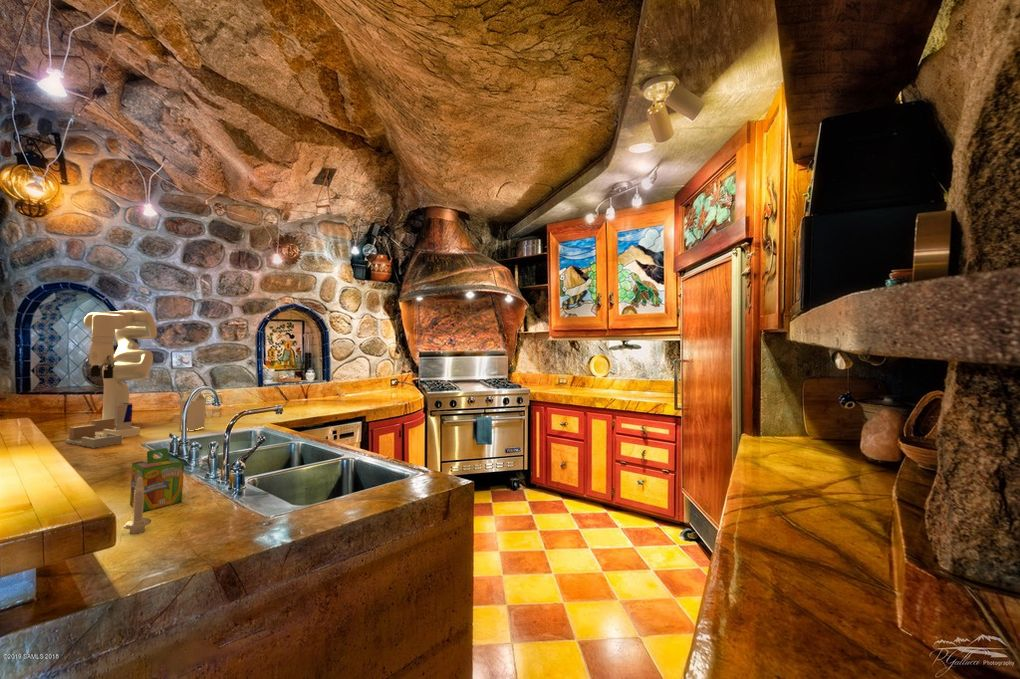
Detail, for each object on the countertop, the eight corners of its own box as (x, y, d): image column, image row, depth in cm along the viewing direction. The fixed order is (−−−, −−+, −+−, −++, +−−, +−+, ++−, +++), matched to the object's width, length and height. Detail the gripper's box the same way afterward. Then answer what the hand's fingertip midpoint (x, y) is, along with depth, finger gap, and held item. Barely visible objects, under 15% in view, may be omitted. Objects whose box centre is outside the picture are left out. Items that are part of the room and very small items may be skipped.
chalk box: (140, 513, 107) (143, 456, 107) (128, 505, 111) (131, 450, 112) (183, 502, 114) (186, 449, 115) (170, 495, 119) (172, 444, 120)
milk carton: (193, 431, 198) (195, 392, 198) (178, 431, 198) (180, 392, 198) (204, 428, 205) (206, 391, 205) (190, 428, 205) (192, 390, 205)
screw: (135, 527, 99) (156, 527, 99) (117, 536, 94) (138, 536, 94) (138, 473, 99) (158, 473, 99) (120, 479, 94) (141, 480, 94)
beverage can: (133, 436, 186) (134, 403, 186) (118, 438, 181) (120, 404, 182) (127, 434, 188) (129, 402, 188) (113, 436, 183) (114, 403, 184)
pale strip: (88, 434, 186) (88, 420, 186) (113, 430, 194) (114, 417, 195) (114, 439, 179) (115, 425, 179) (139, 435, 188) (140, 421, 188)
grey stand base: (65, 442, 171) (66, 427, 171) (94, 438, 179) (94, 424, 179) (93, 448, 164) (94, 432, 164) (121, 443, 172) (122, 428, 173)
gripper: (81, 339, 189) (79, 376, 189) (104, 341, 183) (102, 379, 183) (101, 339, 196) (100, 375, 196) (124, 341, 190) (123, 378, 191)
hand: (101, 377), depth 190 cm, fingers open, 9 cm apart
